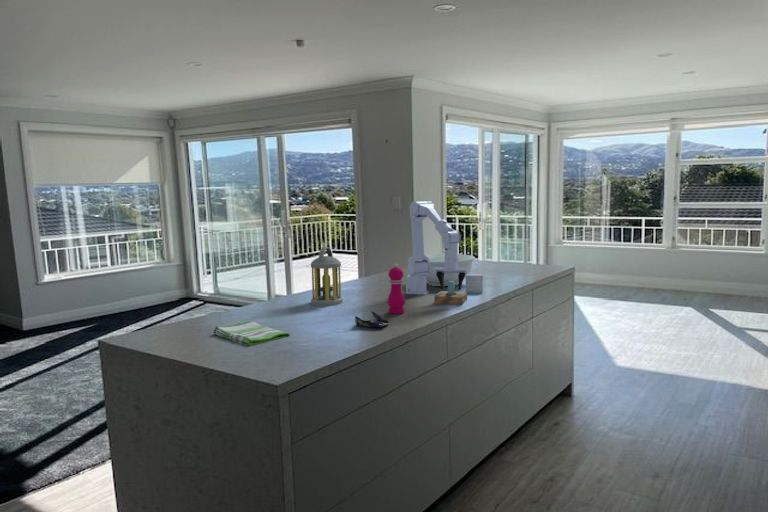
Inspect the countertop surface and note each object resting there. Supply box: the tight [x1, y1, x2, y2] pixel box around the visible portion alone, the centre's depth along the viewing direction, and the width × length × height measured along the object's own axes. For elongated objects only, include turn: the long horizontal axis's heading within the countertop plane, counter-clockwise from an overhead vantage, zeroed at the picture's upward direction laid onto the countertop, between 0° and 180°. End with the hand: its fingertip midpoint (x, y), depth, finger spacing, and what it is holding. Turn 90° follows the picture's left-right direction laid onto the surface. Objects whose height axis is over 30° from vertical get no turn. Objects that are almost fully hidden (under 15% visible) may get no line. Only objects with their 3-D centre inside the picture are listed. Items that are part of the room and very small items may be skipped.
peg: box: [447, 281, 456, 295], centre depth 243 cm, size 3×3×9 cm
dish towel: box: [212, 320, 291, 347], centre depth 193 cm, size 17×23×4 cm
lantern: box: [310, 246, 344, 307], centre depth 245 cm, size 14×14×25 cm
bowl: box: [417, 253, 476, 287], centre depth 286 cm, size 32×32×15 cm
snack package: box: [354, 311, 390, 329], centre depth 202 cm, size 12×6×12 cm
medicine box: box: [465, 273, 484, 294], centre depth 263 cm, size 8×4×9 cm, turn 84°
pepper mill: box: [386, 263, 406, 315], centre depth 223 cm, size 7×7×20 cm
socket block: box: [434, 290, 468, 306], centre depth 243 cm, size 12×12×4 cm
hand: (451, 289), depth 243 cm, fingers open, 7 cm apart
